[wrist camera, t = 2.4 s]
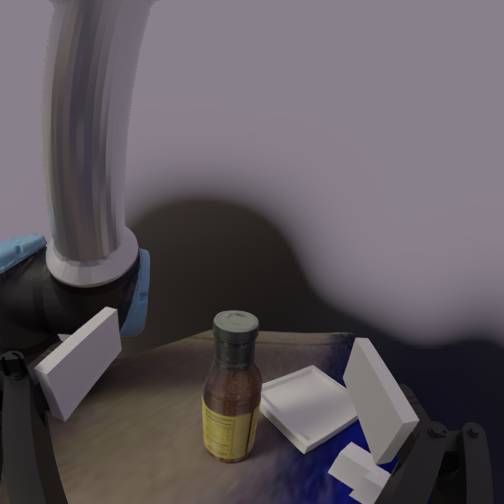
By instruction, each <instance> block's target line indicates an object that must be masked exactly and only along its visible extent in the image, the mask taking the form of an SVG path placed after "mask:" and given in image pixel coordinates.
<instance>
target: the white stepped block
mask: <svg viewBox="0 0 504 504" xmlns="http://www.w3.org/2000/svg"><path fill="white" fill-rule="evenodd" d="M328 473H330V474H331V475H333V476H334V477H335V478H337V479H338V480H340V481H341V482H343V483H345V484H346V485H348V486H349V487H351V488H352V489H354V490H353V491H352V493H351V494H350V495H349V496H351V497H353V498H354V499H356V500H357V501H359V502H361V503H362V504H374V503H375V501H376V499H377V498H378V496H379V494H380V493H381V491H382V489H383V488H384V486H385V484H386V482H387V480H388V479H389V477H390V475H391V474H389V472H387V471H385V470H383V469H382V468H380V467H378V466H377V465H375V463H374V460H373V457H372V454H370V453H369V452H367V451H365V450H364V449H362V448H360V447H359V446H357V445H356V444H354V443H352V442H351V443H350V444H349V445H348V446H346V447H345V448H344V449H343V450H342V451H341V452H340V453H339V455H338V457H337V458H336V460H335V462H334V463H333V465H332V466H331V468H330V470H329V471H328Z"/></svg>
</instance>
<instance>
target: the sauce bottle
mask: <svg viewBox="0 0 504 504" xmlns="http://www.w3.org/2000/svg"><path fill="white" fill-rule="evenodd" d="M258 332H259V321H258V319H257V318H256V317H255V316H254V315H252V314H250V313H247V312H243V311H224V312H221V313H219V314H218V315H216V317H215V318H214V320H213V334H214V336H215V343H214V344H215V346H214V353H213V360H212V362H211V364H210V366H209V369H208V371H207V373H206V375H205V377H204V379H203V382H202V389H201V390H202V412H203V436H204V444H205V446H206V448H207V451H208V453H209V454H210V455H211V456H212V457H214V458H215V459H217V460H219V461H221V462H225V463H233V462H237V461H241V460H243V459H245V458H246V457H247V456H248V455H249V454H250V452H251V449H252V447H253V445H254V440H255V433H256V427H257V421H258V415H259V409H260V402H261V389H262V378H261V375H260V371H259V369H258V368H257V366H256V365H255V363H254V362H253V361H254V349H255V340H256V338H257V336H258Z"/></svg>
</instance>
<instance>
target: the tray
mask: <svg viewBox="0 0 504 504" xmlns="http://www.w3.org/2000/svg"><path fill="white" fill-rule="evenodd" d="M259 410H260V411H261V412H262V413H263V414H264V415H265V417H266V418H267V419H268V420H269V421H270V422H271V423H272V424H273V425H274V426H275V427H276V428H277V429H278V430H279V431H280V432H281V433H282V434H283V435H284V436H285V437H286V438H287V439H288V440H290V441H291V442H292V443H293V444H294V445H295V446H296V447H297V448H298V449H299V450H300V451H301V452H302V453H303V454H305V453H307V452H309V451H310V450H312V449H314V448H315V447H317V446H319V445H320V444H322V443H324V442H325V441H327V440H328V439H330V438H332V437H333V436H335V435H336V434H338V433H339V432H341V431H342V430H344V429H345V428H347V427H348V426H349V425H351V424H352V423H354V422H355V421H356V420H358V419H359V418H358V416H357V413H356V410H355V408H354V405H353V402H352V400H351V397H350V395H349V392H348V389H346V388H345V387H343V386H342V385H341V384H339V383H338V382H336V381H335V380H333V379H332V378H331V377H329V376H328V375H326V374H325V373H323V372H322V371H321V370H319V369H318V368H316V367H315V366H314V365H311V366H309V367H306V368H304V369H301V370H299V371H296V372H294V373H291V374H288V375H286V376H283V377H280V378H278V379H275V380H272V381H269V382H266V383H263V384H262V389H261V402H260V409H259Z"/></svg>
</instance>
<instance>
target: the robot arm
mask: <svg viewBox="0 0 504 504" xmlns="http://www.w3.org/2000/svg"><path fill="white" fill-rule="evenodd" d="M49 1H50V2H51V3H52V4H53V6H54V12H53V16H52V20H51V25H50V29H49V35H48V39H47V46H46V51H45V58H44V66H43V75H42V86H41V104H40V140H41V160H42V172H43V182H44V190H45V197H46V203H47V210H48V216H49V222H50V227H51V232H52V237H53V239H52V240H51V241H50V243H49V245H48V247H46V244H47V241H46V240H45V237H44V236H43V235H41V234H40V235H39V234H30V235H24V236H19V237H14V238H10V239H7V240H4V241H0V481H1V473H2V465H3V459H4V469H5V477H6V484H7V491H8V496H9V501H10V504H68V502H67V499H66V496H65V493H64V490H63V486H62V483H61V480H60V476H59V473H58V469H57V465H56V461H55V456H54V452H53V447H52V442H51V437H50V431H49V425H48V418H47V414H46V412H45V410H46V409H48V408H50V410H51V412H52V415H53V416H55V417H57V418H59V419H61V420H63V421H65V422H66V420H67V419H68V418H69V416H70V415H71V414H72V412H73V411H74V410H75V408H76V407H77V406H78V404H79V403H80V402H81V401H82V399H83V398H84V397H85V395H86V394H87V393H88V392H89V390H90V389H91V388H92V387H93V385H94V384H95V383H96V381H97V380H98V379H99V378H100V376H101V375H102V374H103V373H104V371H105V370H106V369H107V368H108V366H109V365H110V364H111V363H112V361H113V360H114V359H115V358H116V357H117V355H118V354H119V353H120V352H121V350H122V349H121V341H120V337H124V336H136V335H138V334H140V333H141V332H142V330H143V328H144V326H145V321H146V313H147V302H148V298H147V295H148V288H149V274H150V257H149V253H148V251H146V250H144V249H141V248H138V244H137V240H136V237H135V236H134V234H133V233H132V232H131V231H130V230H129V229H128V228H127V227H126V226H125V219H124V217H125V216H124V194H125V164H126V148H127V136H128V125H129V116H130V107H131V100H132V93H133V86H134V80H135V74H136V68H137V63H138V58H139V53H140V48H141V44H142V39H143V35H144V31H145V27H146V22H147V19H148V16H149V12H150V8H151V6H152V5H153V4H154V3H155V2H156V1H158V0H49ZM58 334H69V335H71V336H70V337H69V338H68V339H67V340H65V341H64V342H63V341H61V339H60V338H59V336H58ZM343 379H344V382H345V384H346V387H347V389H348V392H349V395H350V397H351V400H352V402H353V405H354V408H355V410H356V413H357V416H358V418H359V421H360V424H361V426H362V429H363V432H364V435H365V437H366V440H367V443H368V446H369V449H370V451H371V454H372V457H373V460H374V463H375V465H378V464H383V463H389V462H391V461H392V460H393V458H394V457H395V456H396V454H397V456H398V458H399V461H398V462H397V464H396V465H395V466H394V467H393V469H392V470H391V471H390V472H389V474H391V475H390V477H389V479H388V480H387V482H386V484H385V486H384V488H383V489H382V491H381V493H380V494H379V496H378V498H377V499H376V501H375V503H374V504H427V502H428V500H429V497H430V495H431V502H430V504H494V502H493V484H492V474H491V465H490V458H489V452H488V445H487V440H486V435H485V431H484V429H483V428H482V427H481V426H480V425H479V424H477V423H474V422H469V423H467V424H465V425H464V427H463V428H462V429H461V431H448V430H447V428H446V427H445V426H444V425H443V424H441V423H439V422H434V421H432V422H431V420H430V418H429V417H428V415H427V414H426V412H425V410H424V409H423V407H422V406H421V404H420V403H419V401H418V400H417V398H415V395H414V393H413V392H412V390H411V389H410V388H409V387H407V386H406V385H405V384H397V383H396V381H395V379H394V378H393V376H392V375H391V373H390V371H389V370H388V368H387V367H386V365H385V364H384V362H383V360H382V359H381V357H380V356H379V354H378V353H377V351H376V350H375V348H374V347H373V345H372V344H371V342H370V341H369V340H368V338H355V342H354V345H353V348H352V352H351V355H350V358H349V361H348V364H347V367H346V370H345V373H344V376H343ZM431 492H432V493H431Z"/></svg>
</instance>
